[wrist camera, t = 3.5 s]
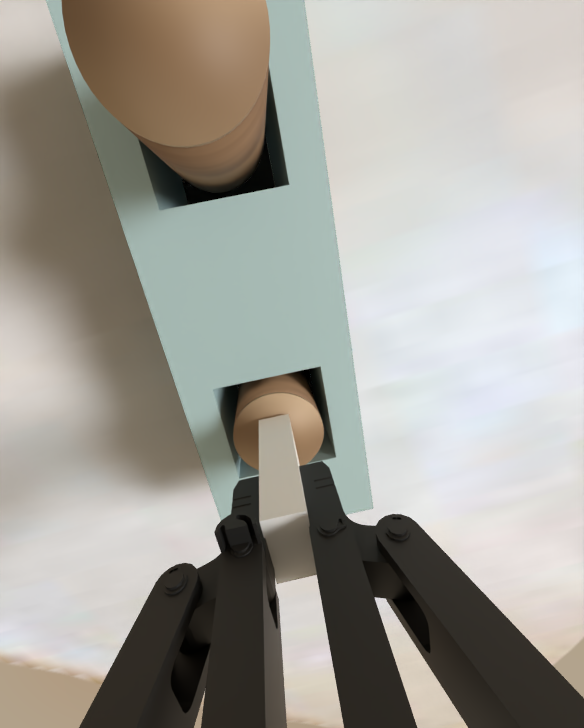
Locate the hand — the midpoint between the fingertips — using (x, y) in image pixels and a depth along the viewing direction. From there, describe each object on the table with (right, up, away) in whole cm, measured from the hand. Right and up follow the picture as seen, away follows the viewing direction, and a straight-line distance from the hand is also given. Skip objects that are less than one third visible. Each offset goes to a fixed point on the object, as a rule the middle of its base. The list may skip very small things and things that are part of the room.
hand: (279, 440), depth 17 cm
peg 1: (-3, +14, -2) cm, 15 cm away
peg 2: (-1, +3, +8) cm, 8 cm away
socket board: (-2, +10, +6) cm, 12 cm away
